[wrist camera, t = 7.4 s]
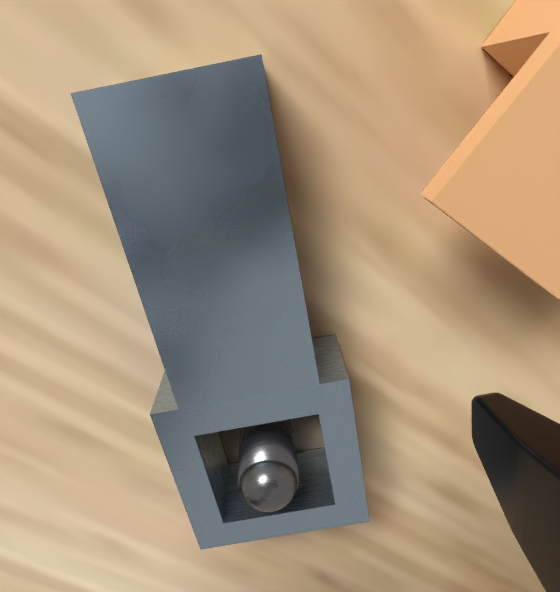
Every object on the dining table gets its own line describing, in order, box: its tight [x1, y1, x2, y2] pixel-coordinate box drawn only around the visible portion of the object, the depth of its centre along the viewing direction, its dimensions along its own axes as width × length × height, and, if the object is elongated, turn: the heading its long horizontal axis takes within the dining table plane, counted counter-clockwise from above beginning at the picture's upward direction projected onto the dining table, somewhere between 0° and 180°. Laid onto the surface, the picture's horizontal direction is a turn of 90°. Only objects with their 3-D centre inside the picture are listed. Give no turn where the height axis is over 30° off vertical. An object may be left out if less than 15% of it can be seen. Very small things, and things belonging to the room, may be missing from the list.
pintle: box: [238, 419, 299, 512], centre depth 16 cm, size 2×2×4 cm
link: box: [71, 55, 370, 549], centre depth 15 cm, size 15×6×3 cm, turn 10°
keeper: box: [420, 0, 560, 299], centre depth 12 cm, size 6×4×4 cm
